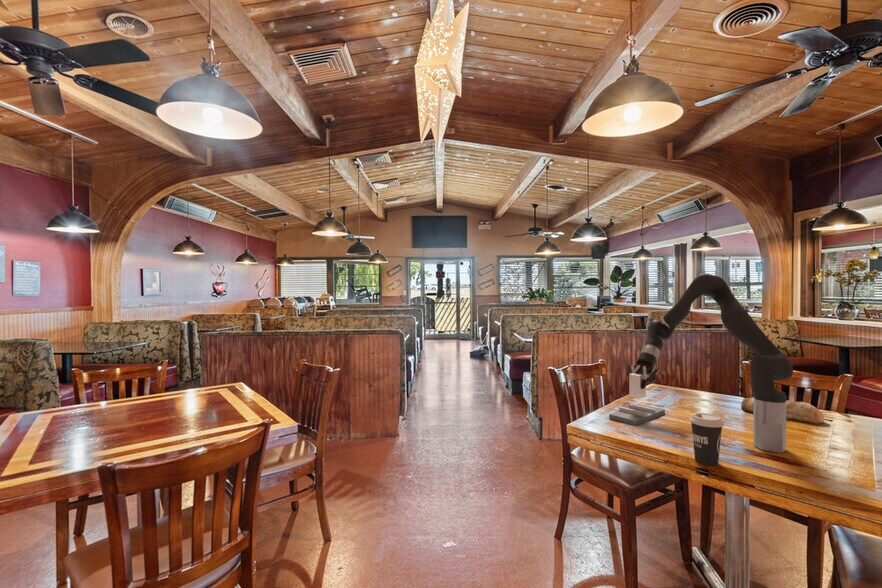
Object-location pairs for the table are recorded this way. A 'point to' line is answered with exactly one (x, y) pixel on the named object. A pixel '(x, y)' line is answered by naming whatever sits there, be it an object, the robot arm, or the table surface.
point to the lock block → (636, 385)
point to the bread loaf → (793, 411)
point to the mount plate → (636, 414)
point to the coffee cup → (706, 437)
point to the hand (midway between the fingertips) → (635, 386)
